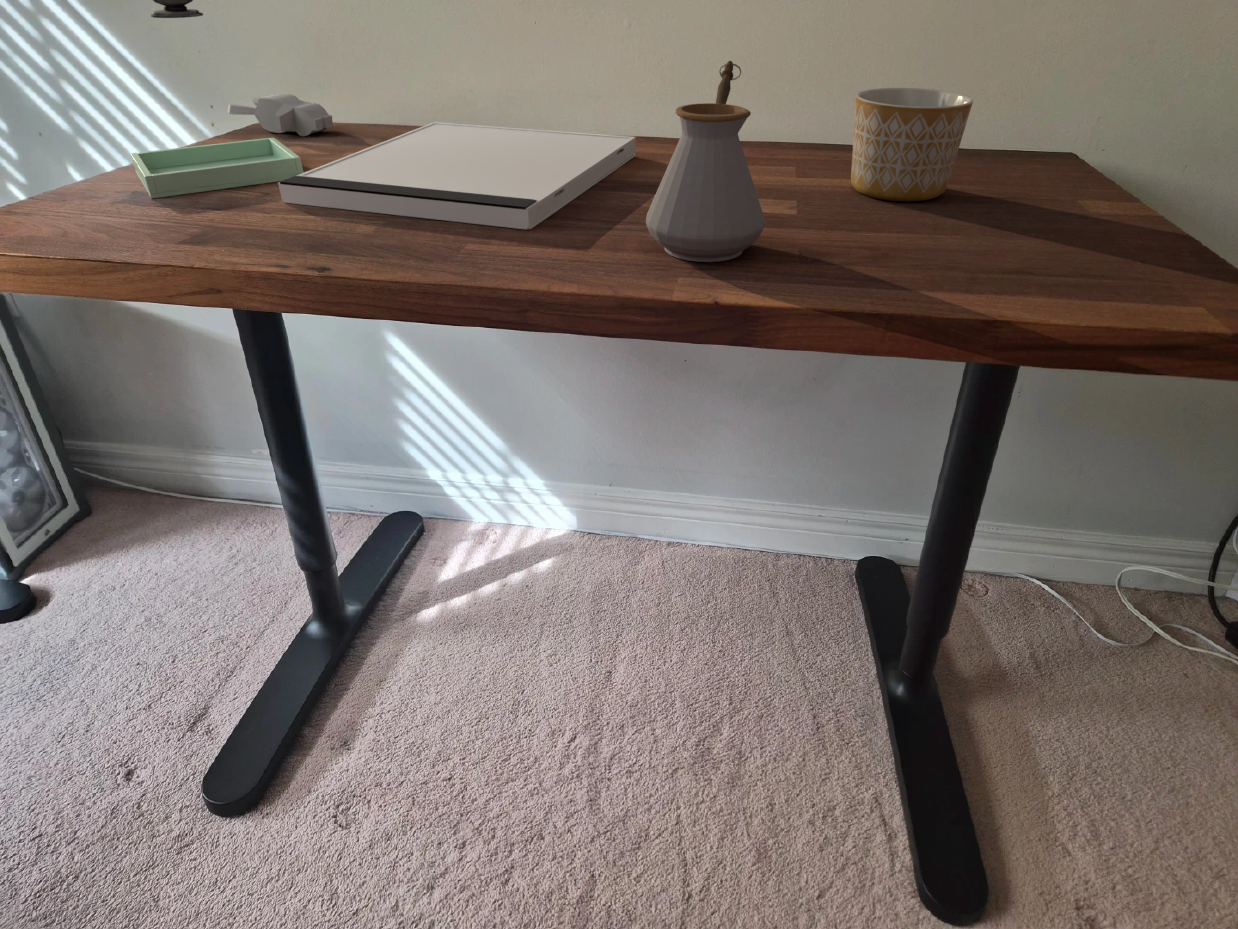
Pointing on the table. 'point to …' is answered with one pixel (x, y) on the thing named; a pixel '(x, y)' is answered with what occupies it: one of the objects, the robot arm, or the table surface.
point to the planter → (906, 142)
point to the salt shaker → (175, 9)
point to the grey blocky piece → (286, 114)
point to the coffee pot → (707, 185)
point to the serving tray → (215, 166)
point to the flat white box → (465, 174)
